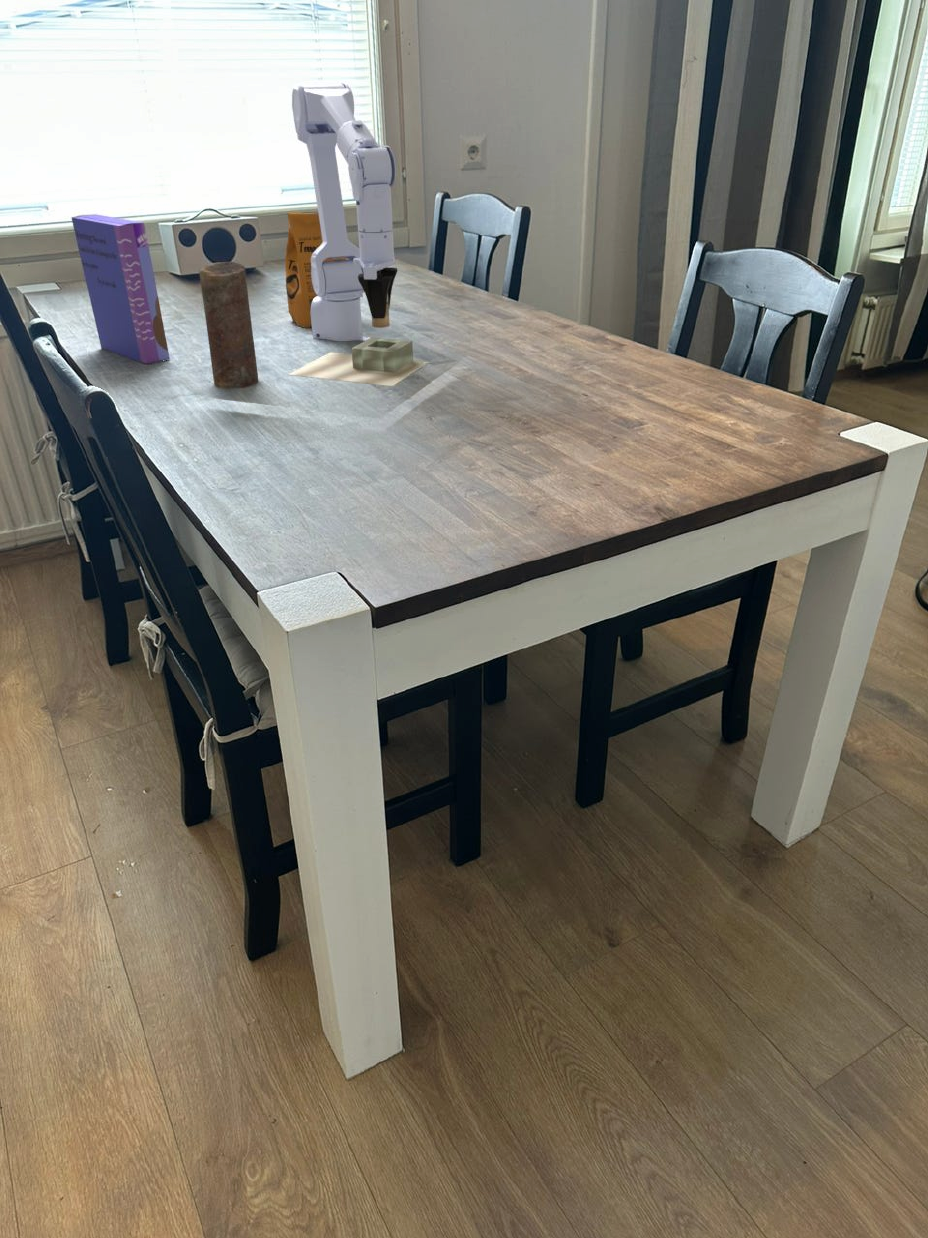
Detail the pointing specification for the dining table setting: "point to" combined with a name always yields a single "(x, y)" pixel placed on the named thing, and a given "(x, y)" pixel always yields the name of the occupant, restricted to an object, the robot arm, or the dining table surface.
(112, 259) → the cereal box
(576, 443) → the dining table surface
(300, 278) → the coffee package
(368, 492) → the dining table surface
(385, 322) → the peg
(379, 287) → the robot arm
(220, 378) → the brown faceted post
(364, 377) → the board
